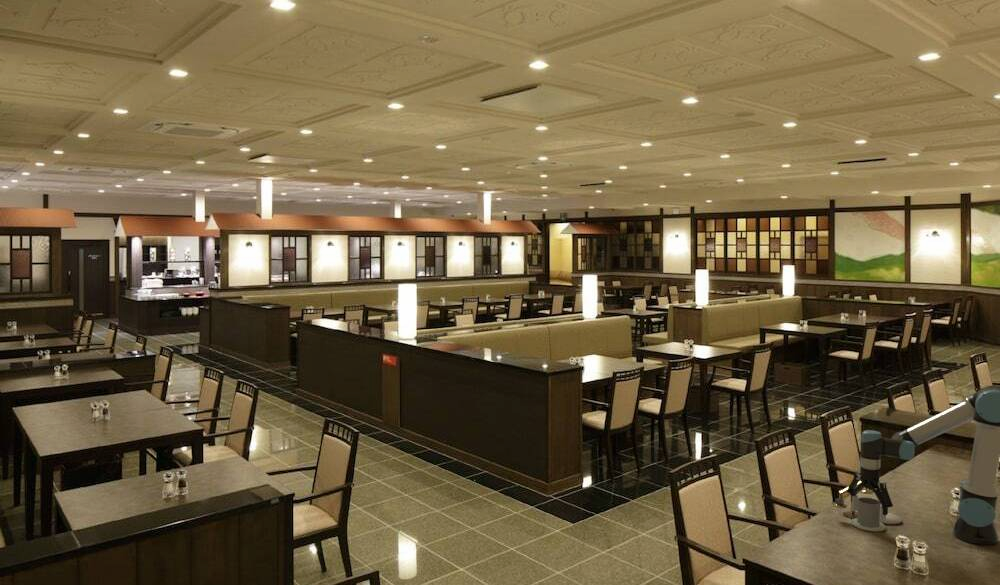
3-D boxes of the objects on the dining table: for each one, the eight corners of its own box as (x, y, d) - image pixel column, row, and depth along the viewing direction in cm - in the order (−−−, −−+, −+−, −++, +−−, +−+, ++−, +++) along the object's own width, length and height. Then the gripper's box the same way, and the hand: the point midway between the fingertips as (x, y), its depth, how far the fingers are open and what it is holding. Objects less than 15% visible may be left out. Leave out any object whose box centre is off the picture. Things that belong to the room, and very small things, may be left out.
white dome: (908, 522, 296) (908, 519, 296) (887, 526, 291) (887, 524, 291) (881, 512, 308) (881, 509, 308) (861, 516, 303) (861, 513, 303)
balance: (864, 510, 310) (865, 476, 309) (875, 514, 305) (876, 479, 304) (829, 517, 301) (830, 481, 300) (839, 521, 296) (841, 485, 295)
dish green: (892, 529, 288) (892, 527, 288) (870, 534, 283) (870, 531, 283) (865, 518, 300) (865, 516, 300) (844, 523, 295) (844, 520, 295)
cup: (882, 528, 286) (883, 505, 286) (860, 526, 288) (861, 503, 287) (875, 520, 294) (876, 498, 294) (854, 519, 296) (855, 496, 296)
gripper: (903, 475, 280) (901, 525, 281) (851, 458, 303) (849, 504, 304) (890, 477, 277) (888, 528, 278) (839, 460, 300) (837, 507, 301)
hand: (868, 516), depth 291 cm, fingers open, 13 cm apart
